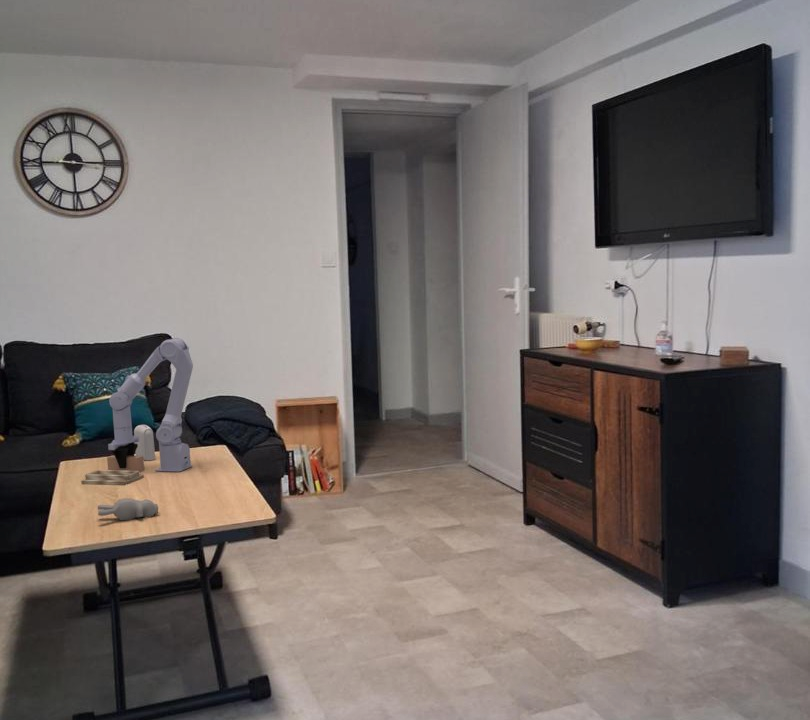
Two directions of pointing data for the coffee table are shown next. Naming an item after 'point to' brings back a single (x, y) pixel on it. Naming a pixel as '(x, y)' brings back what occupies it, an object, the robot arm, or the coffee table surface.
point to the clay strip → (127, 463)
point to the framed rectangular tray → (112, 477)
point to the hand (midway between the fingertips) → (125, 466)
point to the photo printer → (145, 442)
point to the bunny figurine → (129, 509)
